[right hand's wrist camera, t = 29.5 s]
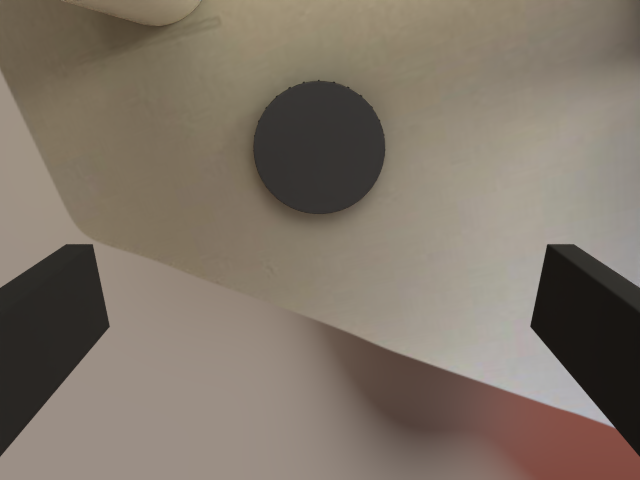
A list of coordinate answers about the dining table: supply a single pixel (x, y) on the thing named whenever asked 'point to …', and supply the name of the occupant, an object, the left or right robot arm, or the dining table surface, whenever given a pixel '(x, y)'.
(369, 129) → the lid
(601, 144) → the dining table surface
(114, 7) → the jar
